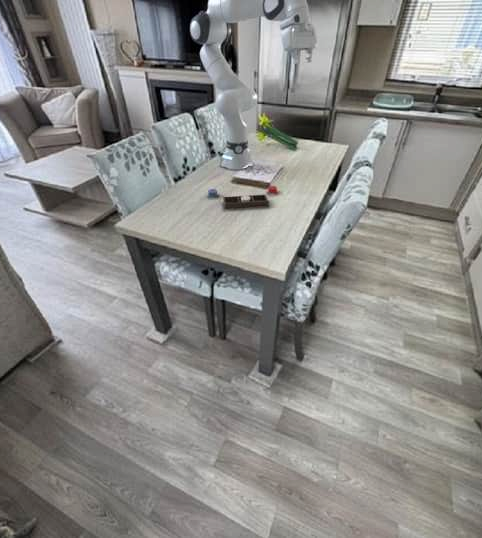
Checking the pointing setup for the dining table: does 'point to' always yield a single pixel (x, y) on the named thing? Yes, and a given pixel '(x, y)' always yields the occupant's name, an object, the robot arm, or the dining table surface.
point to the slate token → (212, 193)
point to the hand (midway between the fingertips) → (303, 62)
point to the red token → (272, 189)
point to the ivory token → (245, 199)
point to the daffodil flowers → (275, 134)
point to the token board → (239, 204)
